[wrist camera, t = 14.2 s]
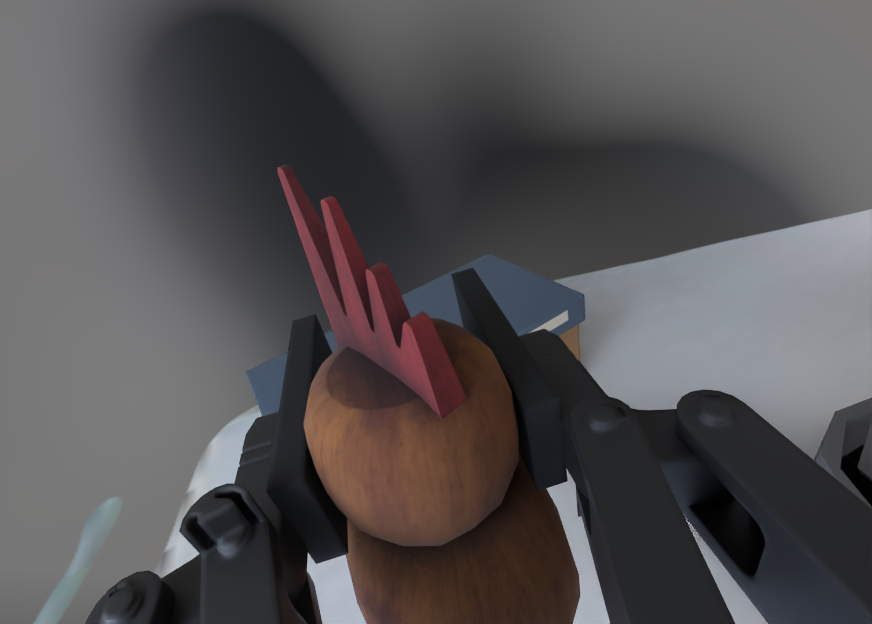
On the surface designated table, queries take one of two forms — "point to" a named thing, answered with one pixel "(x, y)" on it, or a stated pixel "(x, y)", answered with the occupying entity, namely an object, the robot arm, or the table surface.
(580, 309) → the shoebox
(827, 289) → the table surface
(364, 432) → the wooden figurine
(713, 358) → the table surface
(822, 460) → the cpu cooler
